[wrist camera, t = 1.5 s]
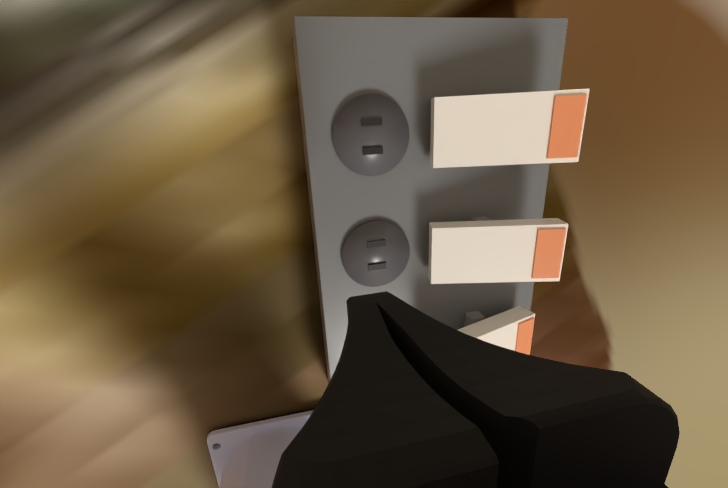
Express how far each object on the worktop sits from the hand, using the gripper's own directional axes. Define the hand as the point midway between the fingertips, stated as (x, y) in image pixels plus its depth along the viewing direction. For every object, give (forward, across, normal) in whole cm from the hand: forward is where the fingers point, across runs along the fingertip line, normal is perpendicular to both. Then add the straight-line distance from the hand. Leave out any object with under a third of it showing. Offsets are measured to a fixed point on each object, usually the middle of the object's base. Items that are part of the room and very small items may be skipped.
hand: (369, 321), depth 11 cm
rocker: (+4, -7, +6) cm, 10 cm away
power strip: (+9, -5, 0) cm, 11 cm away
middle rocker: (+4, -7, 0) cm, 8 cm away
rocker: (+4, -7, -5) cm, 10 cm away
